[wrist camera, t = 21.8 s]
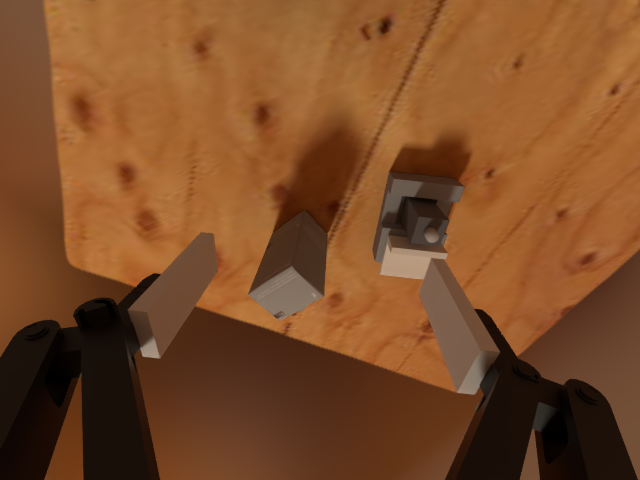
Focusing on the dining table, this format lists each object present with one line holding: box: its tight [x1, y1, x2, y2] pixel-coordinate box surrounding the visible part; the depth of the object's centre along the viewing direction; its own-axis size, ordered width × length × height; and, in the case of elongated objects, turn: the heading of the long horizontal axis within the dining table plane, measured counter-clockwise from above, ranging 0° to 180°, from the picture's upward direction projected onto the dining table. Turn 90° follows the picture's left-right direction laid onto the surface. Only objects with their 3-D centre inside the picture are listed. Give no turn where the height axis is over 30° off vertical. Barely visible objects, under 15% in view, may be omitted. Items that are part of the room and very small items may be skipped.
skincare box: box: [248, 210, 328, 321], centre depth 42 cm, size 8×7×16 cm
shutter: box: [379, 235, 448, 279], centre depth 43 cm, size 7×8×4 cm
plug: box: [400, 196, 449, 247], centre depth 40 cm, size 4×4×10 cm
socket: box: [372, 171, 465, 262], centre depth 44 cm, size 14×10×4 cm
